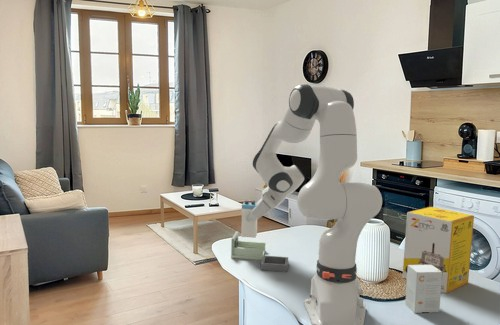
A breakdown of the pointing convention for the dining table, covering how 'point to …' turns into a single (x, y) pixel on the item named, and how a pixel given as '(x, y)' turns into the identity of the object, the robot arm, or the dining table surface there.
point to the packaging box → (440, 244)
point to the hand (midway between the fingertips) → (248, 218)
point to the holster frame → (269, 264)
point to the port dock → (247, 249)
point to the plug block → (249, 227)
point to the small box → (423, 288)
